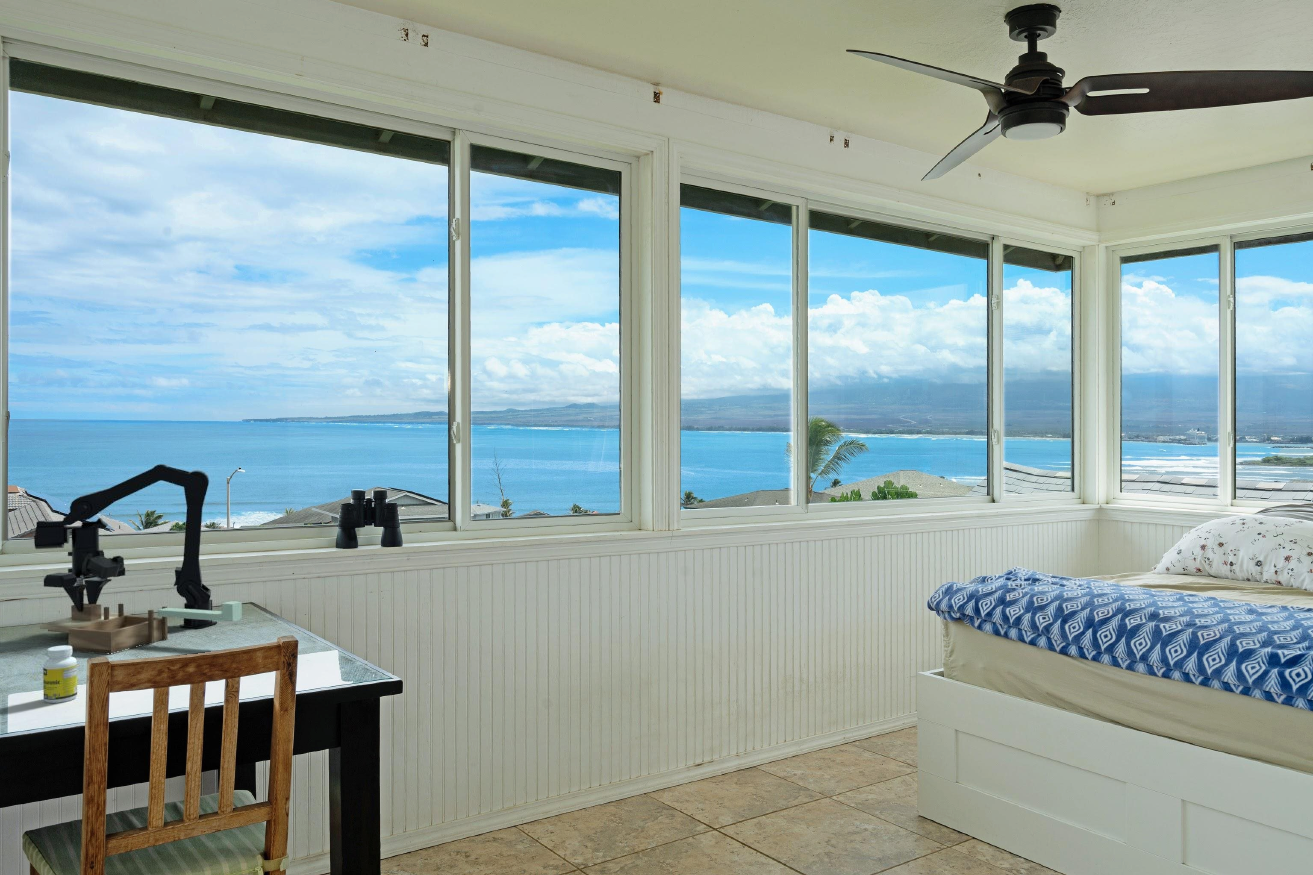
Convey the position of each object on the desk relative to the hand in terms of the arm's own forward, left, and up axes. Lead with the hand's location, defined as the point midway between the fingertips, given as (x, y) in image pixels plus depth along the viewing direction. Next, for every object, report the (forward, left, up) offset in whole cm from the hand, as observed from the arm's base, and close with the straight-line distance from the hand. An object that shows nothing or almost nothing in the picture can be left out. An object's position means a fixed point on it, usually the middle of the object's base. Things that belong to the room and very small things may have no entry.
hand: (86, 610), depth 231 cm
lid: (0, 0, -3) cm, 3 cm away
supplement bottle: (+44, +41, -6) cm, 60 cm away
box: (+6, +16, -6) cm, 18 cm away
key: (+1, +34, 0) cm, 34 cm away
